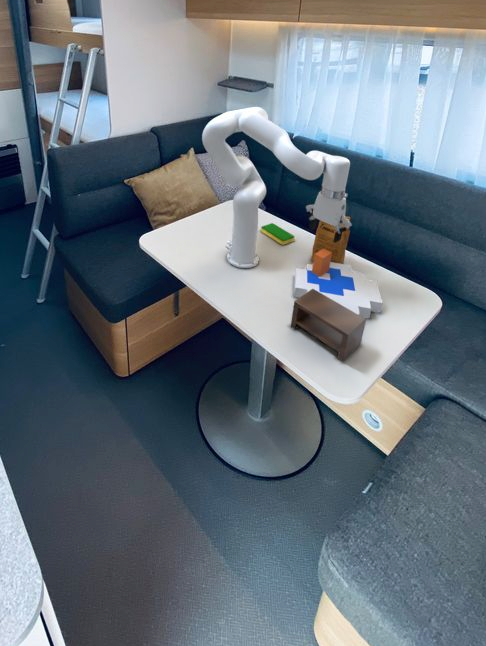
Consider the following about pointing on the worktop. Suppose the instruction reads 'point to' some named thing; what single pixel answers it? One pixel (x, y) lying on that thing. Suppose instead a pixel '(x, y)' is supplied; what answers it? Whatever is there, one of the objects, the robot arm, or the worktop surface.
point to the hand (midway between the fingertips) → (324, 235)
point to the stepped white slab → (341, 288)
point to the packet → (321, 262)
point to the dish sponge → (277, 233)
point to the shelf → (329, 322)
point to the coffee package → (331, 241)
